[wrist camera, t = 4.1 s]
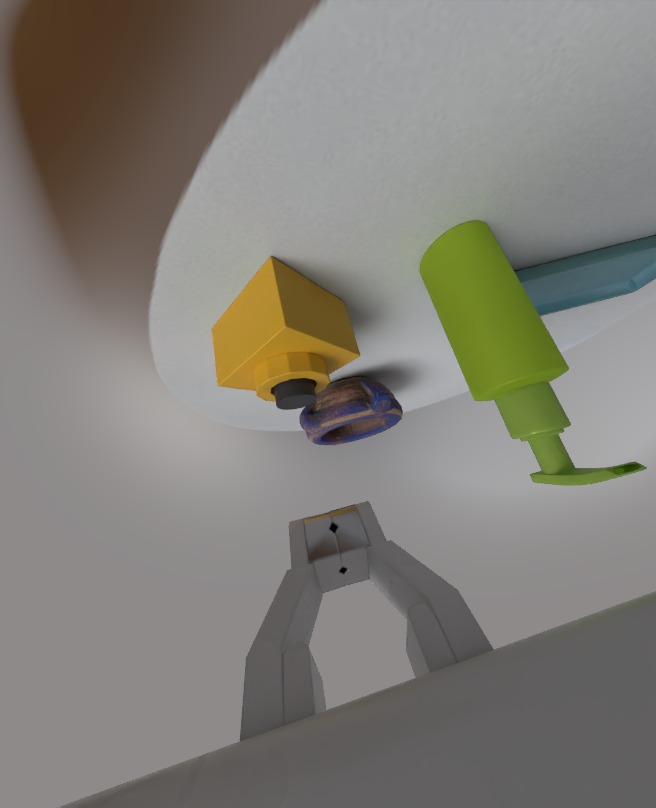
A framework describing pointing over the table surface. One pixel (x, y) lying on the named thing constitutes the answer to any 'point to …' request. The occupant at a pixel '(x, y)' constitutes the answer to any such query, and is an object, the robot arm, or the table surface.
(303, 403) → the black cylinder
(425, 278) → the soap dispenser
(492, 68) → the table surface
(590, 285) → the rectangular tray
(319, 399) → the bowl
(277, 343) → the yellow push button box
